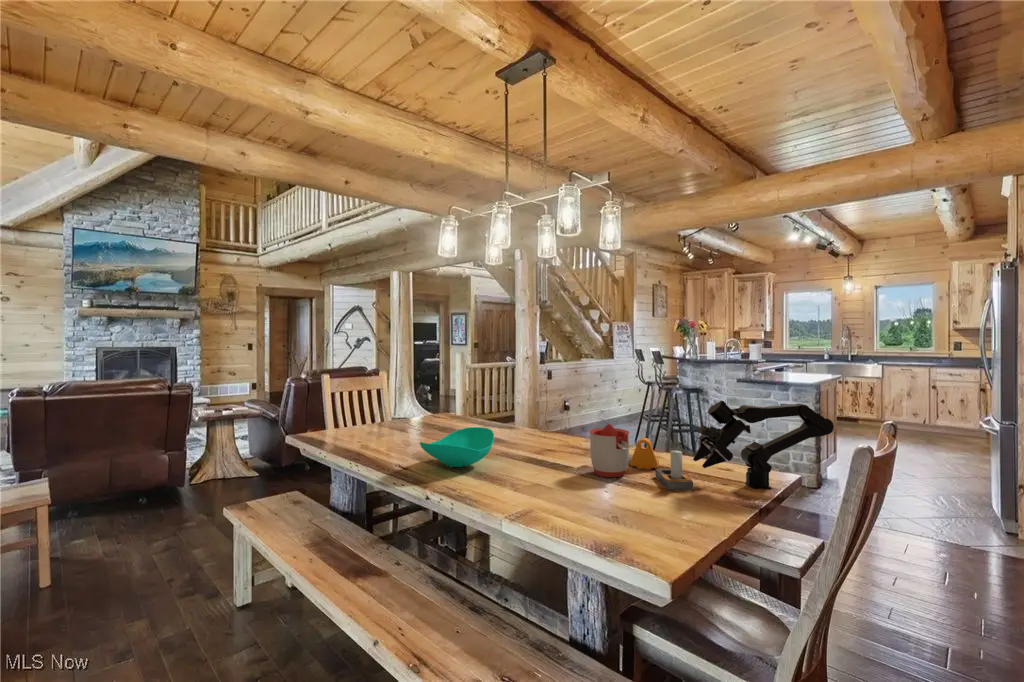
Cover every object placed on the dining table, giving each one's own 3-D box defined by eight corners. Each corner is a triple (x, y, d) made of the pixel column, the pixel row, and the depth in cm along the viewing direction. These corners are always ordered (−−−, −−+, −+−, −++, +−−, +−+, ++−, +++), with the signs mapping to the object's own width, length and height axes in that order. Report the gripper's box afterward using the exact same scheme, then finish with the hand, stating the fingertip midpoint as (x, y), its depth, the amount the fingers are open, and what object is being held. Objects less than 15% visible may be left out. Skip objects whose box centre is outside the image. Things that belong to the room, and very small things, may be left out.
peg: (678, 484, 173) (678, 450, 173) (684, 487, 169) (684, 452, 169) (668, 485, 172) (668, 450, 172) (674, 488, 168) (674, 453, 168)
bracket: (659, 465, 199) (658, 437, 199) (657, 470, 193) (657, 440, 193) (633, 463, 203) (632, 435, 203) (630, 467, 197) (630, 439, 197)
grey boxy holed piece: (678, 476, 183) (678, 468, 183) (693, 490, 166) (693, 481, 166) (655, 476, 183) (655, 468, 183) (667, 490, 166) (667, 481, 166)
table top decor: (460, 482, 179) (460, 447, 179) (402, 473, 191) (402, 441, 191) (508, 458, 214) (508, 429, 214) (457, 452, 227) (456, 425, 227)
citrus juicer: (611, 483, 175) (610, 429, 175) (581, 472, 190) (581, 423, 190) (641, 476, 183) (641, 425, 183) (611, 466, 198) (610, 419, 198)
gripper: (703, 413, 180) (674, 442, 180) (723, 421, 161) (690, 454, 162) (724, 433, 179) (695, 463, 180) (747, 444, 161) (714, 477, 161)
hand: (698, 463), depth 171 cm, fingers open, 9 cm apart
